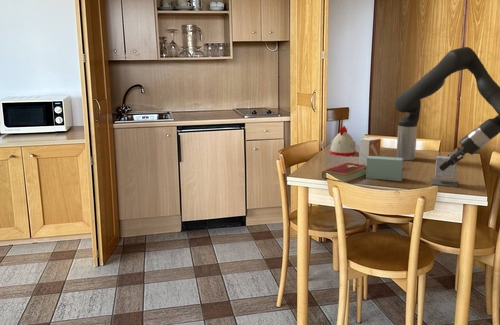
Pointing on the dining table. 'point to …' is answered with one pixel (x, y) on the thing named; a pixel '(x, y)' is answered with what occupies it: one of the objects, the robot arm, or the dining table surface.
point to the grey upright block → (448, 172)
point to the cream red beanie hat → (343, 144)
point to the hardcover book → (346, 171)
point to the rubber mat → (444, 182)
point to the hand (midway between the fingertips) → (440, 167)
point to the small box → (368, 149)
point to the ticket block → (384, 168)
